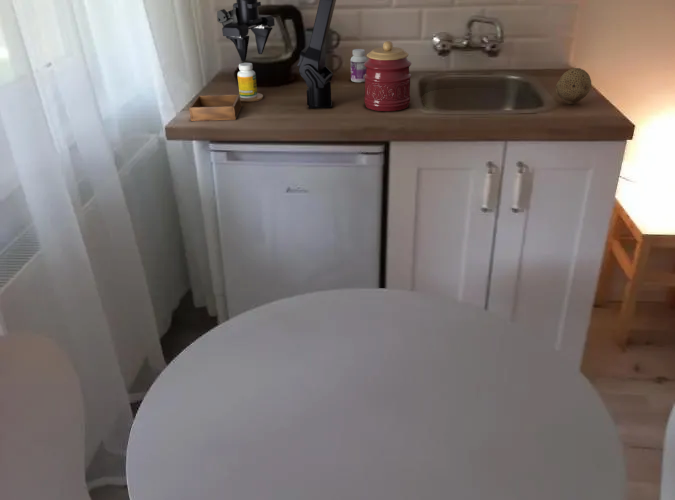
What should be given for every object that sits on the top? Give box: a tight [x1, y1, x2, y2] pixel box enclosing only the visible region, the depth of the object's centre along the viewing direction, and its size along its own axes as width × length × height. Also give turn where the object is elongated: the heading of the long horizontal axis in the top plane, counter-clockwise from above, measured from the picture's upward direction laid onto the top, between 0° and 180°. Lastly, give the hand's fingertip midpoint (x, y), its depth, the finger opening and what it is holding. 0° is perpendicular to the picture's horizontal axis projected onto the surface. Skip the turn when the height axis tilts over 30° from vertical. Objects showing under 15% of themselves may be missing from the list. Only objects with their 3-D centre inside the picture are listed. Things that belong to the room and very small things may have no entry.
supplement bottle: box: [237, 62, 258, 99], centre depth 186 cm, size 5×5×10 cm
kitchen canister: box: [363, 40, 412, 112], centre depth 173 cm, size 13×13×18 cm
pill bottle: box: [350, 48, 368, 83], centre depth 201 cm, size 5×5×10 cm
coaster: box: [236, 92, 264, 103], centre depth 188 cm, size 9×9×1 cm
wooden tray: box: [188, 93, 242, 122], centre depth 175 cm, size 12×12×4 cm
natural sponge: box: [555, 67, 592, 105], centre depth 171 cm, size 9×9×10 cm
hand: (252, 57), depth 178 cm, fingers open, 9 cm apart
